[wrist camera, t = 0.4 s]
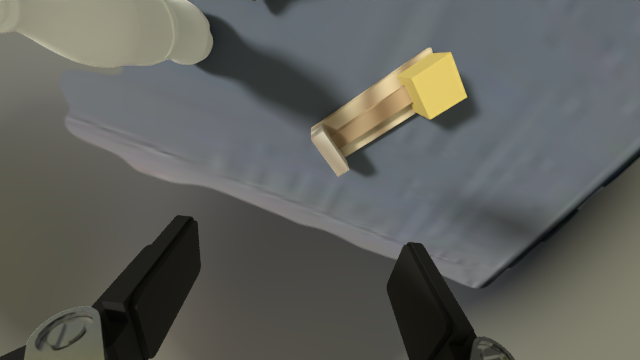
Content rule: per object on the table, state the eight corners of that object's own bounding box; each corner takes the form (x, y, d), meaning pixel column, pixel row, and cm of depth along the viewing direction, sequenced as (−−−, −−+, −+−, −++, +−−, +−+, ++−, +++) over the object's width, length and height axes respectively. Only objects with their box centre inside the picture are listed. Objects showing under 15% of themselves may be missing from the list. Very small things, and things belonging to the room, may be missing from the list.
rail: (427, 48, 33) (449, 45, 28) (444, 91, 36) (468, 97, 31) (311, 127, 38) (310, 139, 32) (334, 160, 41) (338, 176, 35)
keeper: (429, 53, 32) (450, 52, 27) (445, 91, 35) (467, 97, 30) (396, 75, 33) (411, 78, 29) (414, 111, 36) (430, 119, 31)
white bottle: (172, -12, 30) (-258, -232, 7) (226, 24, 31) (18, -61, 9) (156, 44, 32) (-193, 9, 10) (207, 74, 34) (10, 102, 12)
